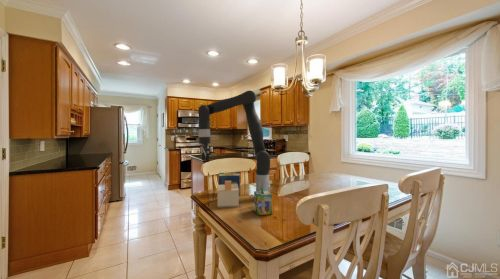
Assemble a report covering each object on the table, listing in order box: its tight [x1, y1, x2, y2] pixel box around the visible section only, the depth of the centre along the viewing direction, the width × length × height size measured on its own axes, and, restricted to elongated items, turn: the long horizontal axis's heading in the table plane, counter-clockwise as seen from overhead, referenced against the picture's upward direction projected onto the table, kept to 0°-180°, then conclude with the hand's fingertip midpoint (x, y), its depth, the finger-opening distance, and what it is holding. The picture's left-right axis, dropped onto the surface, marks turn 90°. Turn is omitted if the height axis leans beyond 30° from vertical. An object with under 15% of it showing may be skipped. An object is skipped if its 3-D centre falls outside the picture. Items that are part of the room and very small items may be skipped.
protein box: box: [218, 171, 241, 197], centre depth 159 cm, size 10×15×16 cm
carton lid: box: [216, 181, 239, 193], centre depth 139 cm, size 13×14×6 cm
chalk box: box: [253, 186, 273, 216], centre depth 125 cm, size 9×9×15 cm
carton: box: [217, 191, 240, 209], centre depth 140 cm, size 13×15×10 cm
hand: (205, 160), depth 141 cm, fingers open, 8 cm apart
